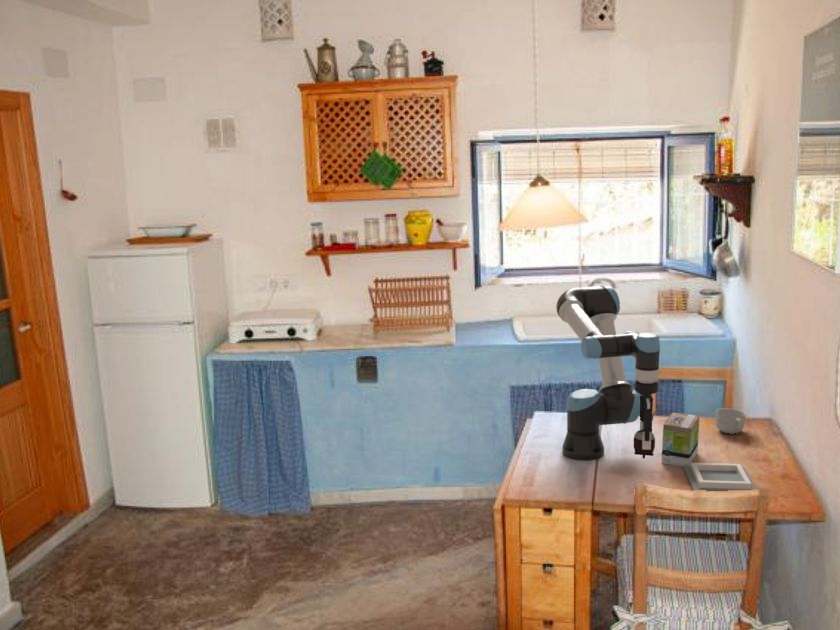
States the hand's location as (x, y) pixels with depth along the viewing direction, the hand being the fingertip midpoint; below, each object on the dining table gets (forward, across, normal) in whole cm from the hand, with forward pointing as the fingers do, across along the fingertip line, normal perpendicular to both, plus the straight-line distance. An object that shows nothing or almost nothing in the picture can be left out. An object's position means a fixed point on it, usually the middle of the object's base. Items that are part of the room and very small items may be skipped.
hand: (645, 444), depth 266 cm
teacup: (+12, +43, -37) cm, 58 cm away
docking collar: (+11, -3, -24) cm, 27 cm away
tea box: (+12, +16, -14) cm, 25 cm away
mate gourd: (+4, 0, 0) cm, 4 cm away
